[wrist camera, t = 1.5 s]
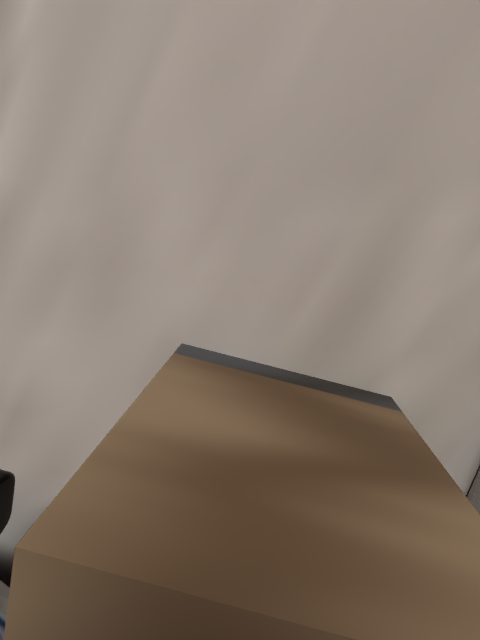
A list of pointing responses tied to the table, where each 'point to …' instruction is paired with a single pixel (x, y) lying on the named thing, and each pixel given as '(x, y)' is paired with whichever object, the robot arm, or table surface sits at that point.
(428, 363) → the table surface
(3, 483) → the robot arm
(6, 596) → the ceramic plate
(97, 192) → the table surface
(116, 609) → the stamp
